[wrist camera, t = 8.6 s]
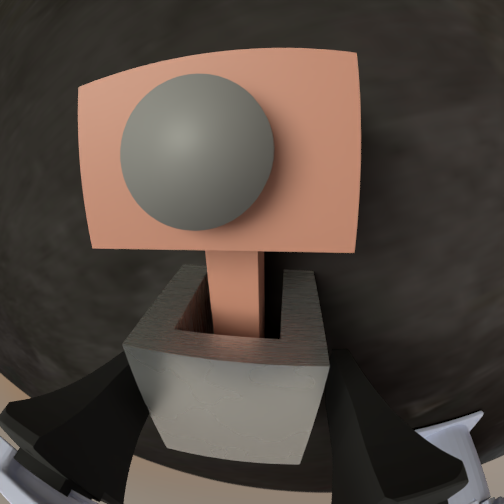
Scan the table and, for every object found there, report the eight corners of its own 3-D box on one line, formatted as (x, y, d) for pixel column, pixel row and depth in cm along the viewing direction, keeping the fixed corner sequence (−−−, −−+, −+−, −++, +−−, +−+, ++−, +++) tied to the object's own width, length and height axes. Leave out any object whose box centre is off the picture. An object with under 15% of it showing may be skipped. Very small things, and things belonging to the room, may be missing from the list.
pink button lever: (304, 389, 14) (305, 479, 8) (197, 382, 14) (168, 463, 9) (322, 96, 8) (364, 42, 3) (162, 105, 9) (62, 84, 4)
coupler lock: (299, 373, 13) (299, 464, 8) (197, 365, 14) (166, 447, 9) (313, 270, 11) (329, 366, 6) (183, 264, 12) (122, 344, 7)
